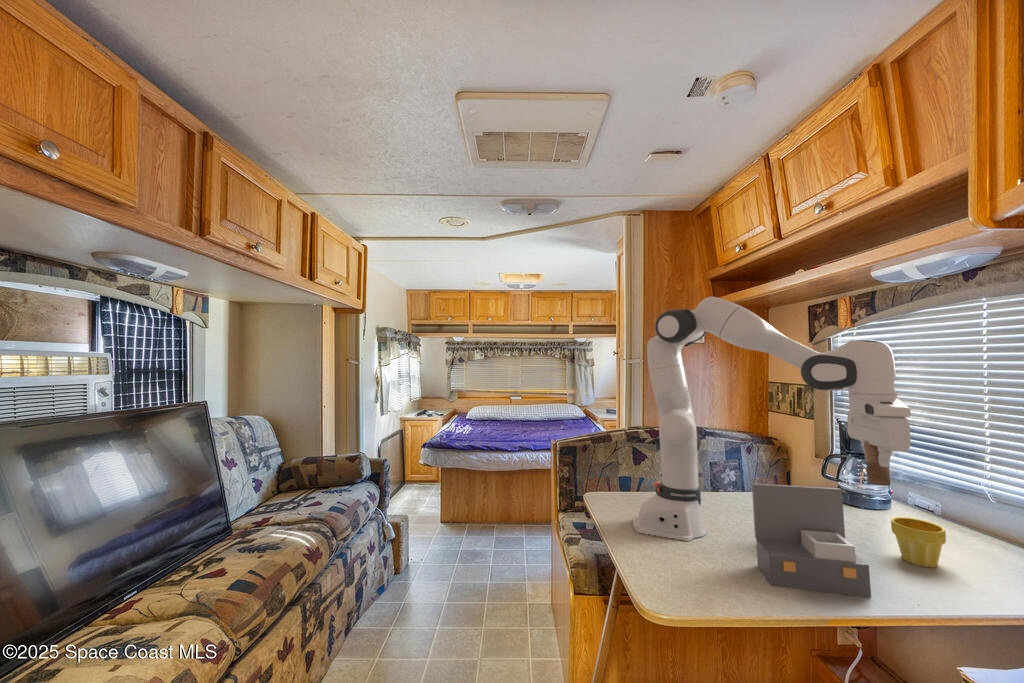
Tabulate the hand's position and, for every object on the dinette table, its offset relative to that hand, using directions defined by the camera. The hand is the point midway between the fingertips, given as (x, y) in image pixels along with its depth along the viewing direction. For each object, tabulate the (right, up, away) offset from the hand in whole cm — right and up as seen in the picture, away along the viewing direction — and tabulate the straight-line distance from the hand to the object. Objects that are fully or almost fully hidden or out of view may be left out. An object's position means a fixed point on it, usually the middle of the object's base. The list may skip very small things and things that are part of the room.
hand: (877, 463), depth 96 cm
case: (-15, -29, +2) cm, 33 cm away
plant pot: (+21, -30, +11) cm, 38 cm away
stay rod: (0, -5, 0) cm, 5 cm away
